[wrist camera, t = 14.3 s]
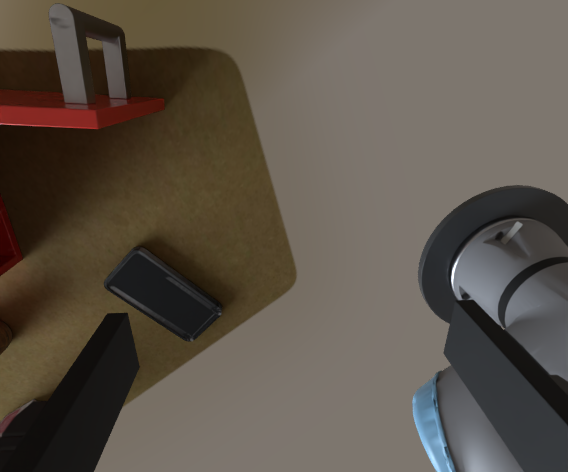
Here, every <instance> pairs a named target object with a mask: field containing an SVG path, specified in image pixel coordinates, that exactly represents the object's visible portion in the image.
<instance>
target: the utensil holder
mask: <svg viewBox="0 0 568 472" xmlns="http://www.w3.org/2000/svg"><path fill="white" fill-rule="evenodd" d="M11 340H12V332H11V330H10V328H9V327H8V326H7V325H6V324H5V323H4V322H2V321H1V320H0V355H1V354H2V353H3V351H4V350H5V349H6V348H7V347H8V346H9V344H10V343H11Z"/></svg>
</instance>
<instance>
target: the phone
mask: <svg viewBox="0 0 568 472" xmlns="http://www.w3.org/2000/svg"><path fill="white" fill-rule="evenodd" d="M104 287H105V288H106V289H107V290H108V291H110V292H111V293H113V294H114V295H116V296H117V297H119V298H120V299H122V300H123V301H125V302H126V303H128V304H130V305H131V306H133V307H134V308H136V309H137V310H139V311H140V312H142V313H143V314H145V315H146V316H148V317H149V318H151V319H152V320H154V321H156V322H157V323H159V324H160V325H162V326H163V327H165V328H166V329H168V330H169V331H171V332H172V333H174V334H175V335H177V336H178V337H180V338H182V339H183V340H185V341H193V340H195V339H196V338H197V337H198V336H199V335H200V334H201V333H202V332H204V331H205V330H206V329H207V328H208V327H209V326H210V325H211V324H212V323H213V322H214V321H215V320H216V319H218V318H219V317H220V315H221V312H222V306H221V304H220V303H219V302H218V301H216V300H215V299H213V298H212V297H211V296H209V295H208V294H207V293H205V292H204V291H202V290H201V289H200V288H198V287H197V286H196V285H194V284H193V283H192V282H190V281H189V280H187V279H186V278H185V277H183V276H182V275H181V274H179V273H178V272H176V271H175V270H174V269H172V268H171V267H170V266H168V265H167V264H165V263H164V262H163V261H161V260H160V259H159V258H157V257H156V256H154V255H153V254H152V253H150V252H149V251H148V250H146V249H145V248H143V247H135V248H133V249H132V250H131V251H130V252H129V254H128V255H127V256H126V257H125V258H124V259H123V260H122V261H121V262H120V264H119V265H118V266H117V267H116V268H115V269H114V270H113V271H112V272H111V274H110V275H109V276H108V277H107V278H106V280H105V281H104Z"/></svg>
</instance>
